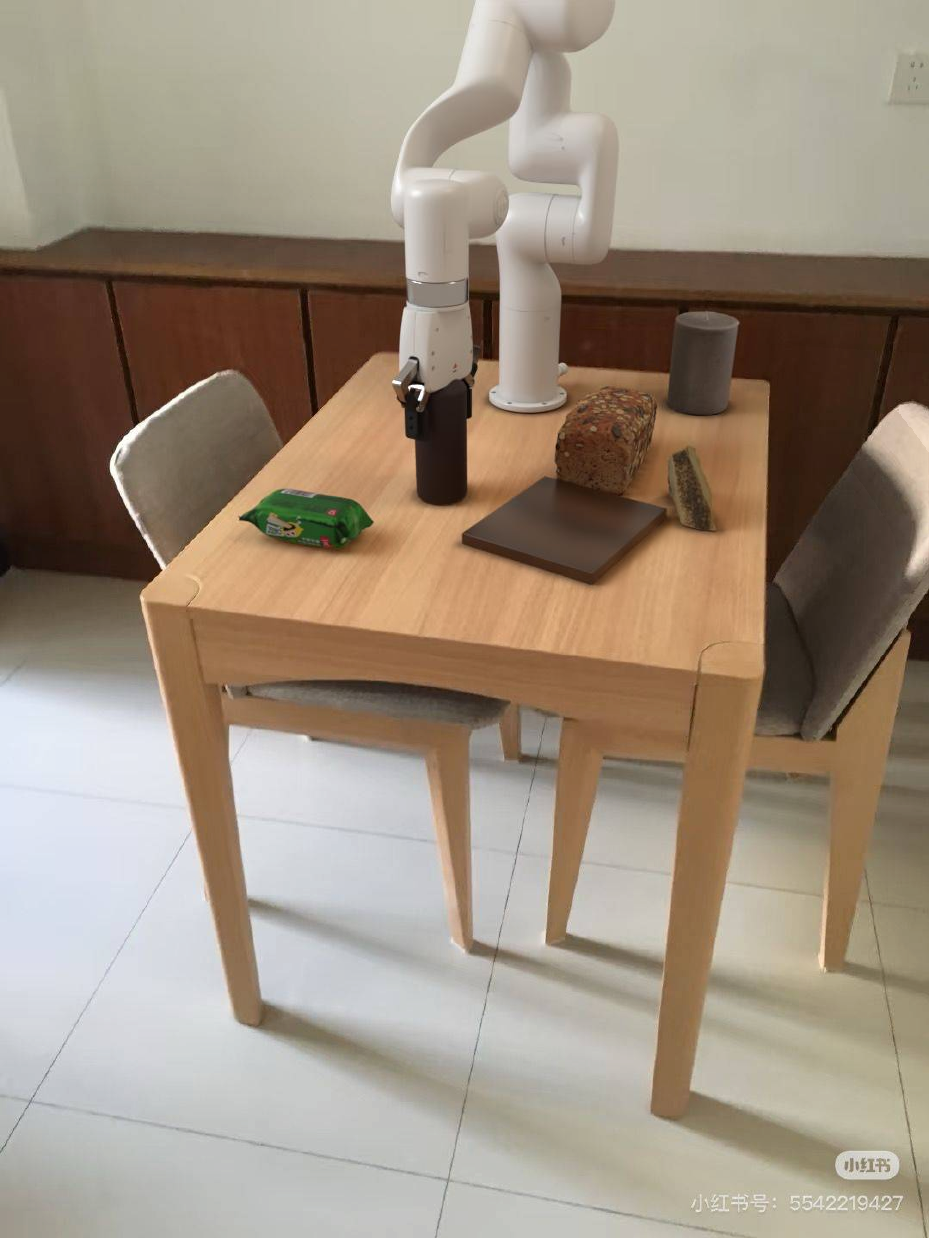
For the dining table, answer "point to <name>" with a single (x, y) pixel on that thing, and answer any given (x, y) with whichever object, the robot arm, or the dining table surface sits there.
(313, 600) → the dining table surface
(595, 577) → the serving board
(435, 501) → the vinegar
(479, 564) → the dining table surface
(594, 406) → the bread
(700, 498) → the rock
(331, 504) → the snack package
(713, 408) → the pillar candle
